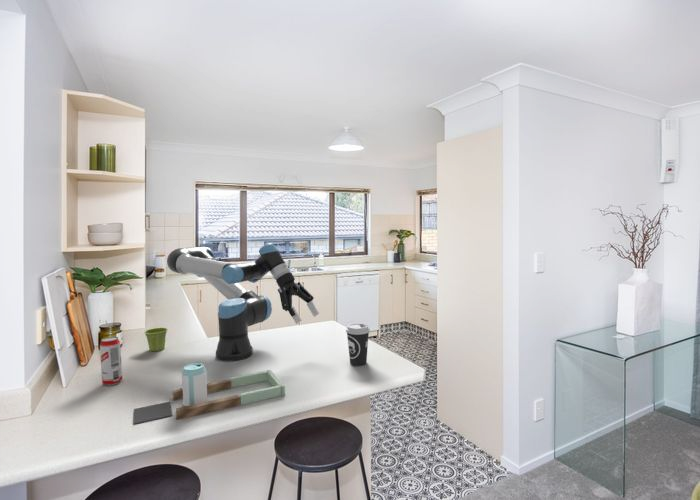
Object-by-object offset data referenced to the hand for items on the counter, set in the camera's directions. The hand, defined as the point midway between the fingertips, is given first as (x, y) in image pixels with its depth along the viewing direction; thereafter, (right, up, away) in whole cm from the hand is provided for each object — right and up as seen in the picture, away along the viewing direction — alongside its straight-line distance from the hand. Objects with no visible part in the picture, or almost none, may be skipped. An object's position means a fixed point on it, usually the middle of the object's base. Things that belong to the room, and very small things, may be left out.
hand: (308, 318), depth 165 cm
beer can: (-67, -19, -24) cm, 74 cm away
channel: (-28, -19, -40) cm, 53 cm away
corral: (-14, -18, -33) cm, 40 cm away
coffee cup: (+21, -16, -9) cm, 28 cm away
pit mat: (-41, -20, -47) cm, 66 cm away
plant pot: (-69, -16, +12) cm, 72 cm away
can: (-31, -20, -41) cm, 55 cm away
